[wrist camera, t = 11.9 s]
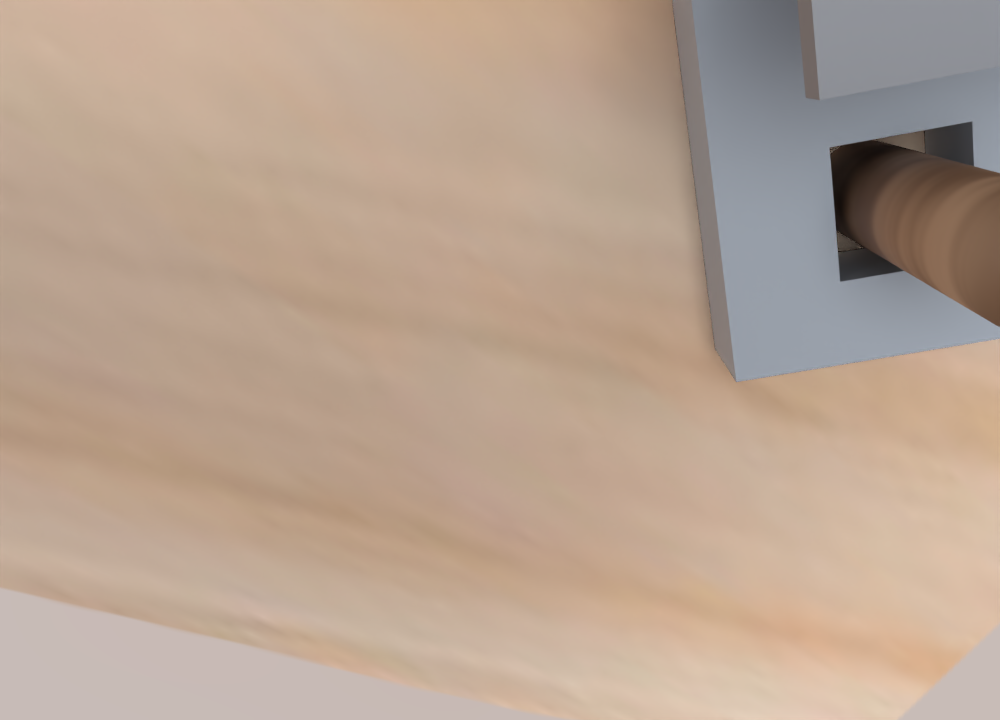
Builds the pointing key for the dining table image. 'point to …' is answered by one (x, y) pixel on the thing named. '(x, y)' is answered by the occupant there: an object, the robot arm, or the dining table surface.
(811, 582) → the dining table surface
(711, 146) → the socket station
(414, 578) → the dining table surface
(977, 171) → the peg
